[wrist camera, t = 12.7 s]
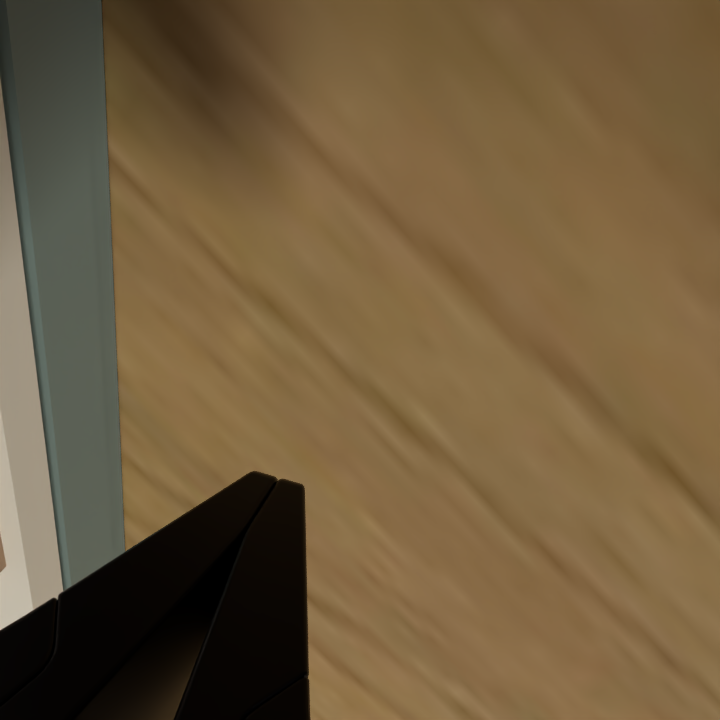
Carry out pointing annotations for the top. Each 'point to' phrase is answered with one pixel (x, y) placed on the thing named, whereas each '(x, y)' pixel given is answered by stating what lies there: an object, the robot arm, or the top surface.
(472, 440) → the top surface
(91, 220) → the teal box base
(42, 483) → the lid
